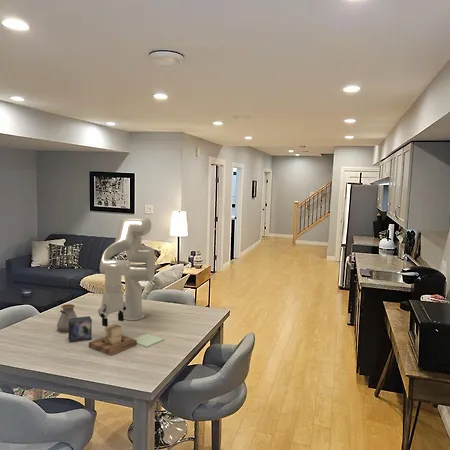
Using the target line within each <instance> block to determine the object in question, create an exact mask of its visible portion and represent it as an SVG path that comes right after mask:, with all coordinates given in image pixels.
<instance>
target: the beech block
mask: <svg viewBox="0 0 450 450" xmlns="http://www.w3.org/2000/svg"><path fill="white" fill-rule="evenodd" d="M121 335H122V325H120V324H115V323H111V324H108V326H107V327H105V326H104V337H105V344H108V345H111V346H113V345H116V344H119V343H121Z"/></svg>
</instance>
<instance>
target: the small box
mask: <svg viewBox="0 0 450 450" xmlns="http://www.w3.org/2000/svg"><path fill="white" fill-rule="evenodd" d="M92 322H93V319H92V317H91V316H90V315H89V316H88V315H87V316H80V317H79V316H77V318H69V332H68V336H67V338H68V340H69V342H70V343H75V342H76V343H77V342H82V341H83V340H84V341H89V340H90V339H91V340H92V337H93V336H92V334H93V333H92V327H93V326H92V325H93V323H92ZM91 340H90V341H91Z"/></svg>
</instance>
